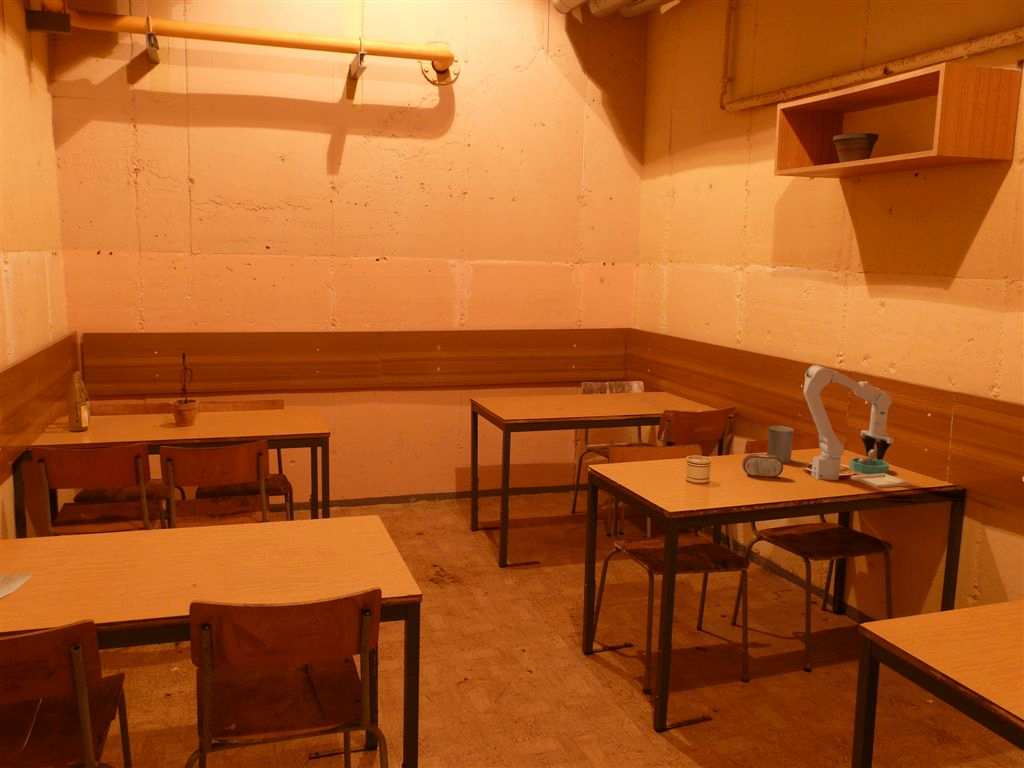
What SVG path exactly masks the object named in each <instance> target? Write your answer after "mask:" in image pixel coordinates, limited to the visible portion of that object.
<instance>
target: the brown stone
mask: <svg viewBox="0 0 1024 768" xmlns="http://www.w3.org/2000/svg"><path fill="white" fill-rule="evenodd" d="M867 458H870V459H871V460H872V461H878V460H877V447H874V448H873V449H871V450H870V451H869V452H868V456H867Z"/></svg>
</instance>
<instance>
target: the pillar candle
mask: <svg viewBox="0 0 1024 768" xmlns="http://www.w3.org/2000/svg"><path fill="white" fill-rule="evenodd" d="M794 430H795V429H794V428H792V427H789V426H783V424H781V425H771V426H769V429H768V441H767V450H766V455H774V456H777V457H779V458H780V459H781V461H782V463H783V464H789V463H791V461H792V450H793V449H792V448H793V441H794Z"/></svg>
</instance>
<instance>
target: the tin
mask: <svg viewBox="0 0 1024 768" xmlns="http://www.w3.org/2000/svg"><path fill="white" fill-rule="evenodd" d="M741 462H742V463H741V465H742V467H741V468H742V470H743V471H744V472H745V474H747V475H748V476H751V477H758V478H759V477H761V478H763V477H764V478H777V477H780V475H781V474H782V473H783V470H784V463H782V461H781V459H780V458H779V457H777V456H774V455H767V454H759V453H751V454H748V455H747V456H745V457H744V459H743V460H742V461H741Z"/></svg>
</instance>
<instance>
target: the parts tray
mask: <svg viewBox="0 0 1024 768" xmlns="http://www.w3.org/2000/svg"><path fill="white" fill-rule="evenodd" d="M850 479H852V480H854V481H857V482H860V483H863V484H865V485H867V486H870V487H873V488H875V489H879V488H889V487H890V488H891V487H893V488H894V487H903V486H905V487H906V486H911V481H909V480H905V479H902V478H900V477H899V478H898V477H896V476H893V475H890V474H884V473H882V474H858V475H850Z"/></svg>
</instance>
